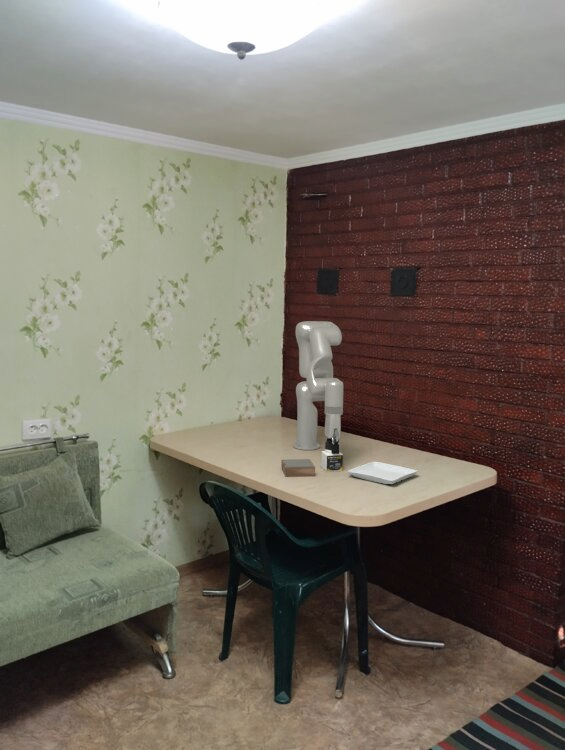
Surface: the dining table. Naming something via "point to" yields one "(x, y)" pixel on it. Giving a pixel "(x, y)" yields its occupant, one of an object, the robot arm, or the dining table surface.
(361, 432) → the dining table surface
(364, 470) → the salad plate
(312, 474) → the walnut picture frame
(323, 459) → the medicine bottle
